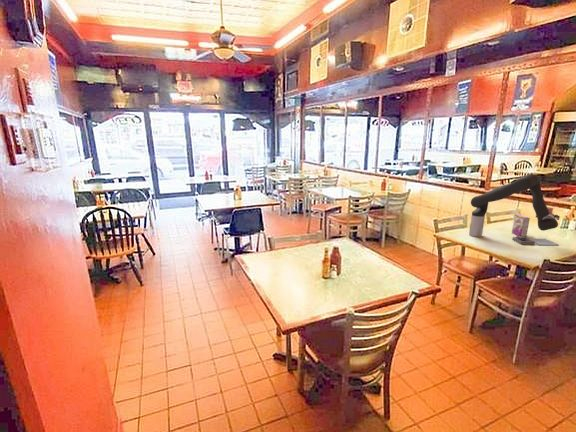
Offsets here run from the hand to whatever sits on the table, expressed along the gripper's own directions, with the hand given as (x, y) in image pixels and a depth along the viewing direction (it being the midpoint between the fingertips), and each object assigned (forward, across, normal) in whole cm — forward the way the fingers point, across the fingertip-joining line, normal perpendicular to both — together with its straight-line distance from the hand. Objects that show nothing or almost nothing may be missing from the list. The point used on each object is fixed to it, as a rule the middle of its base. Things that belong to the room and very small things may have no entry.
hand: (547, 214), depth 235 cm
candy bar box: (+9, +15, +22) cm, 28 cm away
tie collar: (-9, +12, +22) cm, 27 cm away
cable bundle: (-3, 0, +8) cm, 9 cm away
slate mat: (-2, 0, +22) cm, 22 cm away
